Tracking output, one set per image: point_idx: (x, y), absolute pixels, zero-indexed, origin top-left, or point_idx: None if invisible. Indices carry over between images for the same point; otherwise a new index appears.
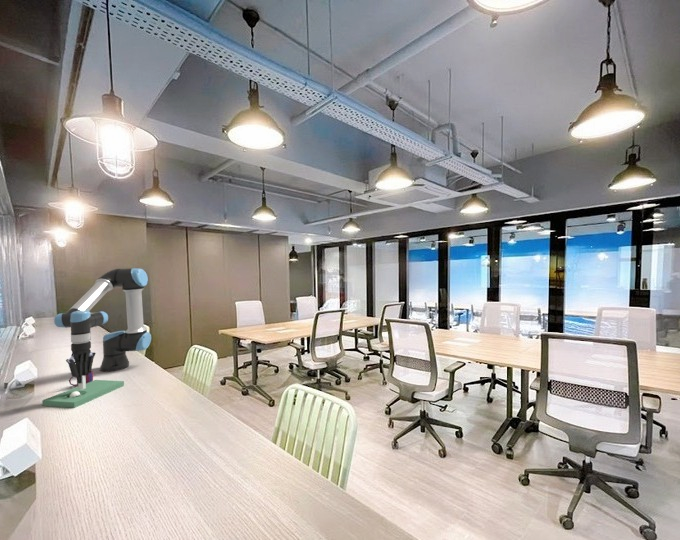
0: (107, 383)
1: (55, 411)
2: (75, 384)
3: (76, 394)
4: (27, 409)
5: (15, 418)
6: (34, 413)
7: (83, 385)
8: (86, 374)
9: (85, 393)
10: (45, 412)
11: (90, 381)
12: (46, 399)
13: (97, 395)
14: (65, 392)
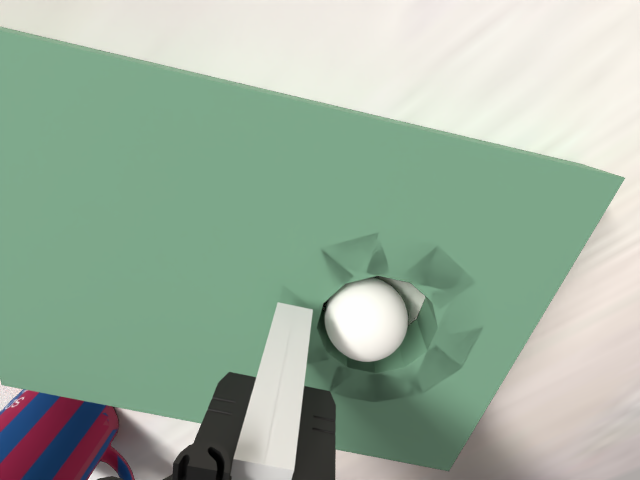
0: (50, 201)
1: (602, 281)
2: (111, 463)
3: (390, 304)
4: (480, 467)
5: (623, 443)
6: (577, 395)
7: (299, 337)
8: (229, 465)
9: (350, 243)
10: (590, 340)
11: (39, 405)
12: (437, 457)
13: (338, 108)
14: None
